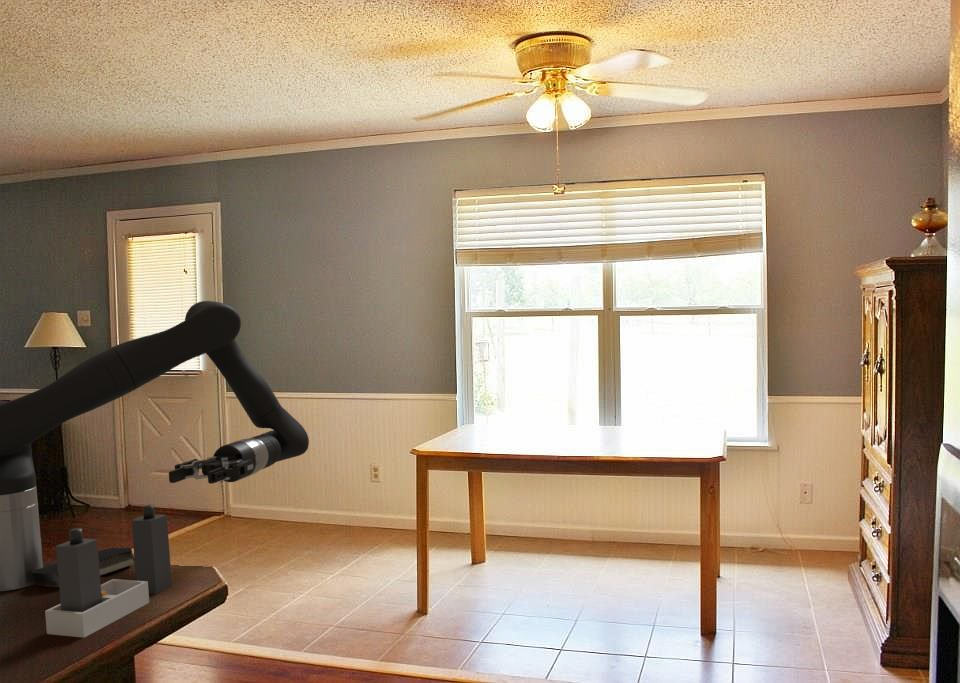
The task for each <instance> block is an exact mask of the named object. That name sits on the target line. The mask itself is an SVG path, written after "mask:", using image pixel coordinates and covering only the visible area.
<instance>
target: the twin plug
mask: <svg viewBox="0 0 960 683" xmlns="http://www.w3.org/2000/svg"><path fill="white" fill-rule="evenodd" d="M68 533H69V540H68V541H66V542H63V543H61V544H58V545H55V552H56V564H57V566H58V579H59V587H58V588H59V591H58V592H59V601H60V603H59V604H61V611H73V612H84V611H86V610H88V609H90V608H92V607H94V606H96V605H98V604H100V603H102V595H101V576H100V570H99V557H98V551H99V549H98V539H94V538H84V536H83V534H84V533H83V528H81V527H77V528H72V529H69V530H68Z"/></svg>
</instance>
